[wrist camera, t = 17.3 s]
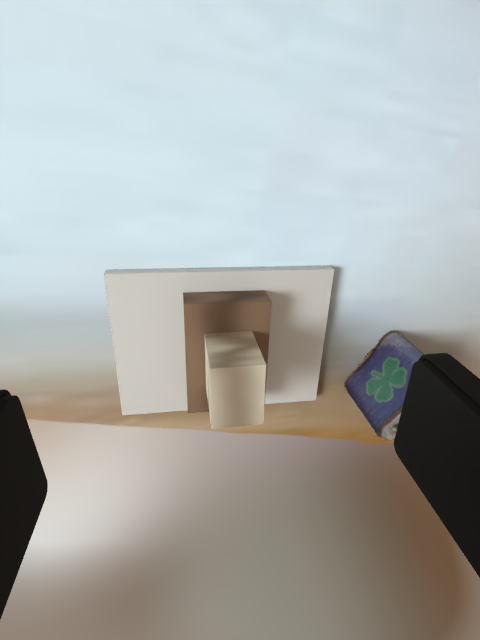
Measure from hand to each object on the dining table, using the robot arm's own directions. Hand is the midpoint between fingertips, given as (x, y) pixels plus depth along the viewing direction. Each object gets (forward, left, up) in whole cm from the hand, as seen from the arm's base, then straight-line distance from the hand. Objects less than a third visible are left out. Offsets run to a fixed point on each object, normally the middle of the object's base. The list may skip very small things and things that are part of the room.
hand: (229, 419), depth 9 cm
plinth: (-3, +13, -26) cm, 30 cm away
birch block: (-3, +13, -24) cm, 27 cm away
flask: (-21, +17, -28) cm, 39 cm away
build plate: (-3, +13, -28) cm, 31 cm away
